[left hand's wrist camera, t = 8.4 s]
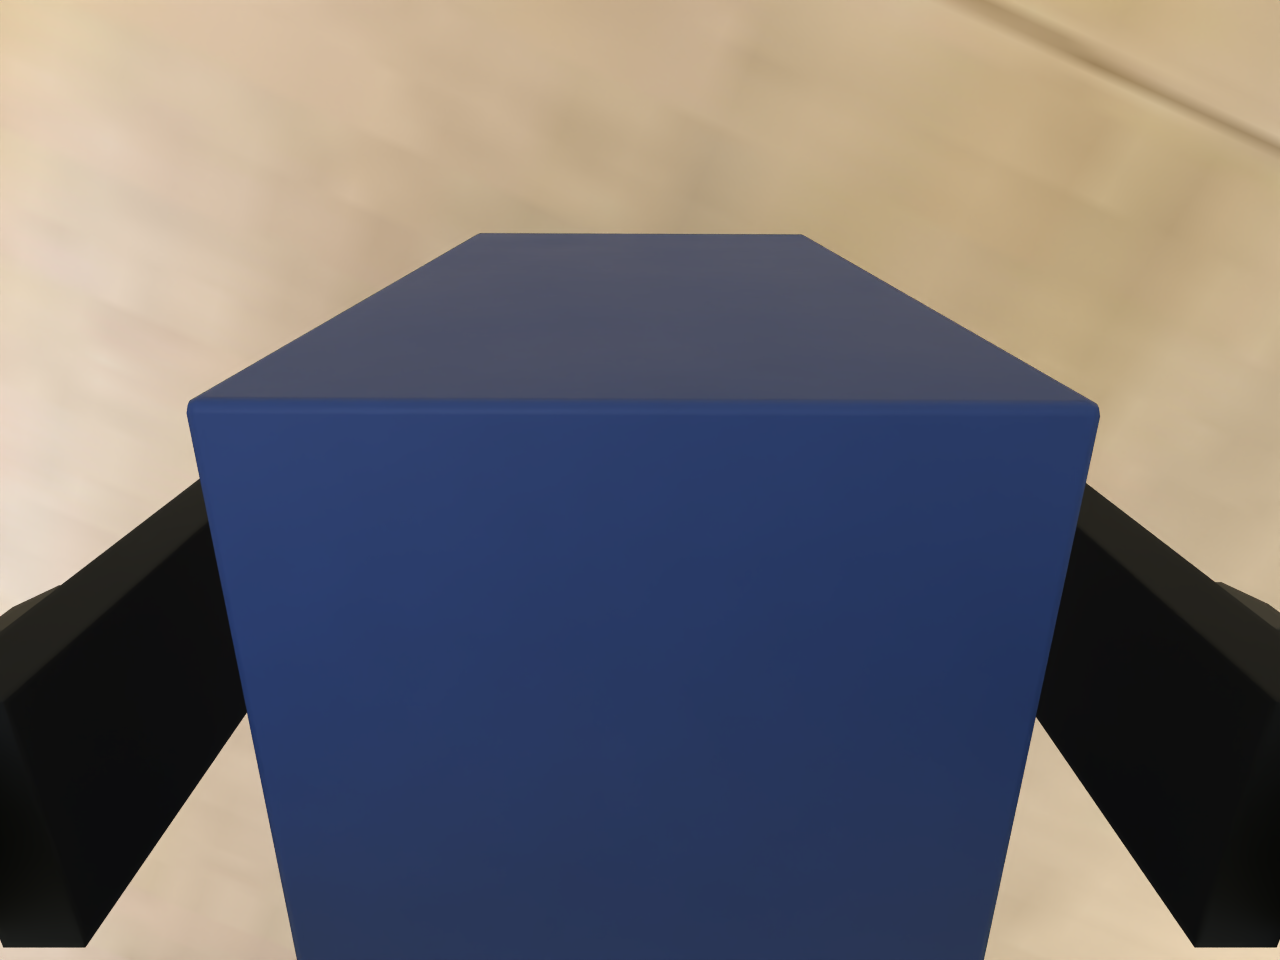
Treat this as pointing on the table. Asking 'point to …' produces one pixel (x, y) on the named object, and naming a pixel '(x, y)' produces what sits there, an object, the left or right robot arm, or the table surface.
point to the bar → (641, 604)
